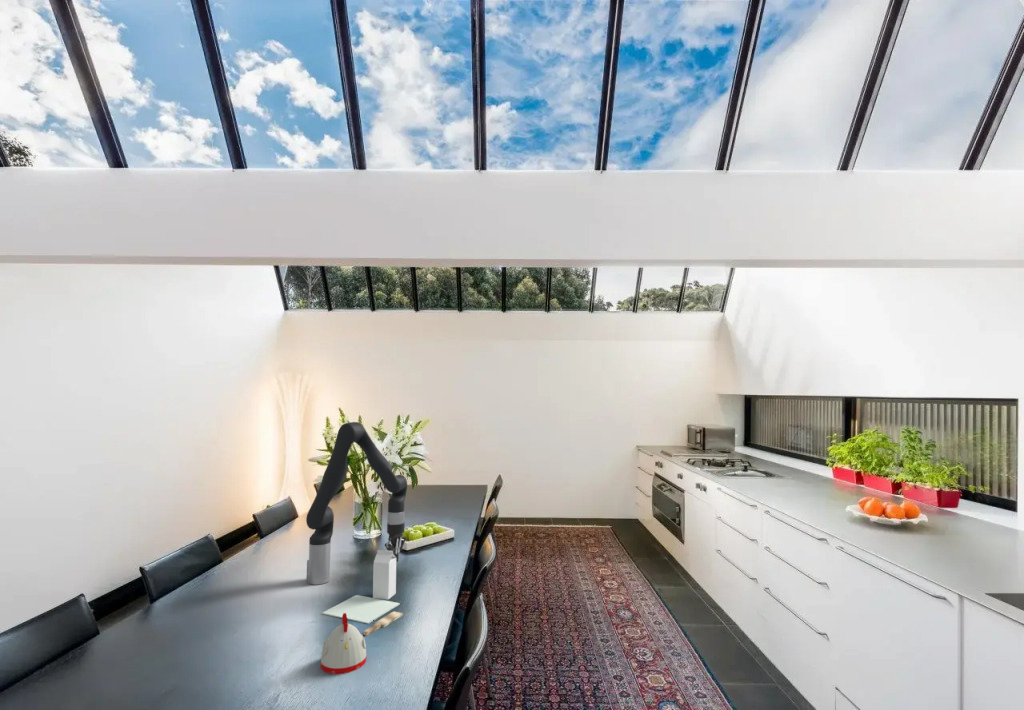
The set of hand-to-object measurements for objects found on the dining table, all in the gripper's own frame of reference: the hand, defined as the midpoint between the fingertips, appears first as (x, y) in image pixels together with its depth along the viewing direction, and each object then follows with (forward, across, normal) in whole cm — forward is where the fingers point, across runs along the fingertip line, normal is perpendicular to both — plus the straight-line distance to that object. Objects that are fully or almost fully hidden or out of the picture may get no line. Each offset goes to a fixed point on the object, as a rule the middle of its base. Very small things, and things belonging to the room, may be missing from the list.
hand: (395, 562), depth 232 cm
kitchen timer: (+12, +58, +22) cm, 63 cm away
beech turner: (+12, +29, +16) cm, 35 cm away
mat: (+12, +22, 0) cm, 25 cm away
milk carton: (+12, +7, 0) cm, 14 cm away
